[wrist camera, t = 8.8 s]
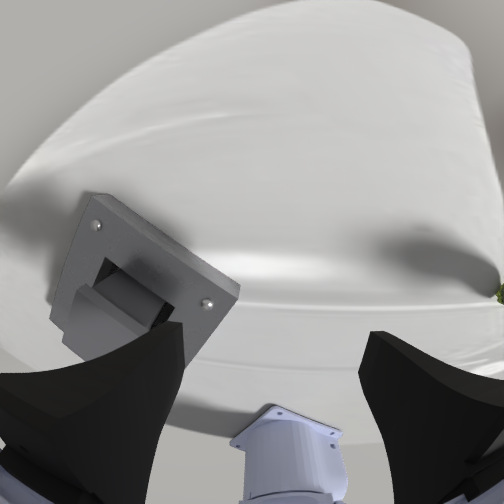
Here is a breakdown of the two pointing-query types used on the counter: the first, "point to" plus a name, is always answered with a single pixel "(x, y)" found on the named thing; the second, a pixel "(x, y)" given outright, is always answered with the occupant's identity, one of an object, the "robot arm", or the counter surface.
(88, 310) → the plug
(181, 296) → the socket plate
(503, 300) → the vegetable
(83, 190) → the counter surface
